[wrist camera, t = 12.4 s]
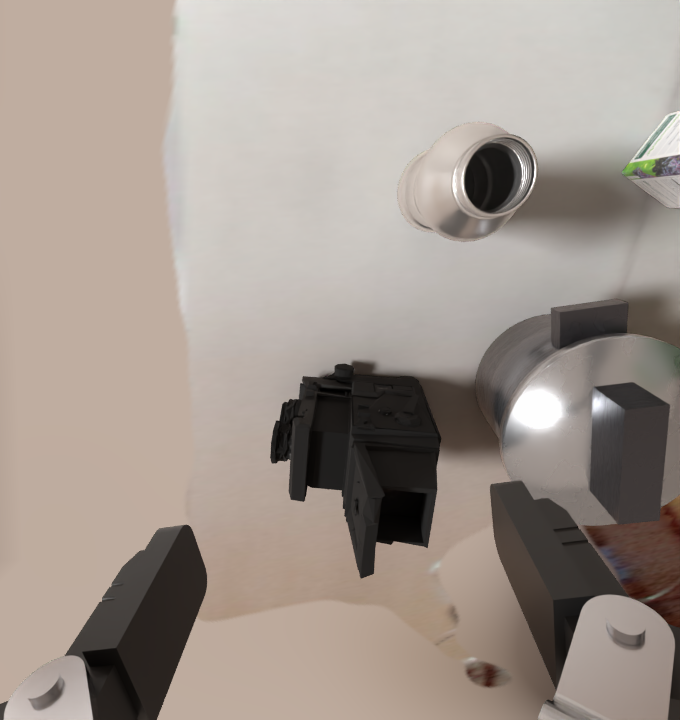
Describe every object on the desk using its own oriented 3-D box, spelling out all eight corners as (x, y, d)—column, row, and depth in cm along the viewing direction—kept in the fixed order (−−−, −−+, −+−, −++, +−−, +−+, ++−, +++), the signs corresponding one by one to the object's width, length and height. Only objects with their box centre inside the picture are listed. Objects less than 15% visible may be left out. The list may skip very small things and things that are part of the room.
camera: (291, 354, 45) (245, 459, 26) (423, 366, 45) (474, 480, 26) (287, 440, 48) (243, 590, 29) (410, 452, 48) (446, 609, 29)
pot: (466, 298, 43) (502, 326, 32) (623, 276, 42) (713, 297, 31) (477, 470, 49) (510, 541, 38) (614, 455, 48) (687, 523, 37)
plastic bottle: (481, 171, 39) (600, 133, 20) (444, 243, 41) (520, 270, 22) (416, 138, 38) (475, 67, 19) (382, 213, 40) (405, 215, 21)
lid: (495, 348, 33) (519, 372, 28) (721, 319, 32) (789, 339, 27) (502, 524, 38) (524, 571, 33) (697, 505, 37) (751, 551, 32)
